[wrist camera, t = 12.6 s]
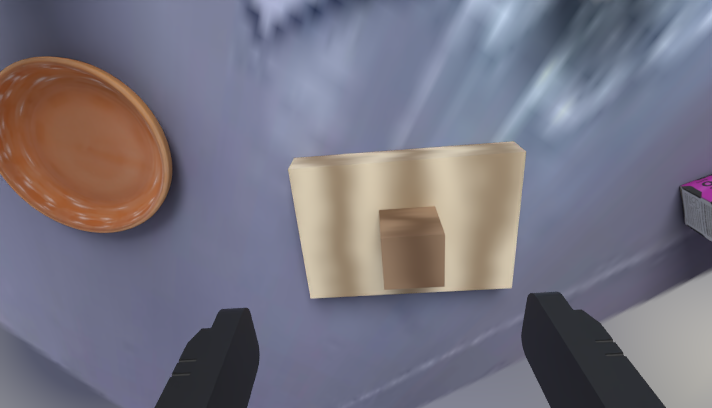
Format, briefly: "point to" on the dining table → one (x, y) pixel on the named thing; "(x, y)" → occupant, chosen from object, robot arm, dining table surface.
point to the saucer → (81, 145)
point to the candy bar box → (698, 205)
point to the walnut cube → (412, 248)
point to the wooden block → (408, 190)
